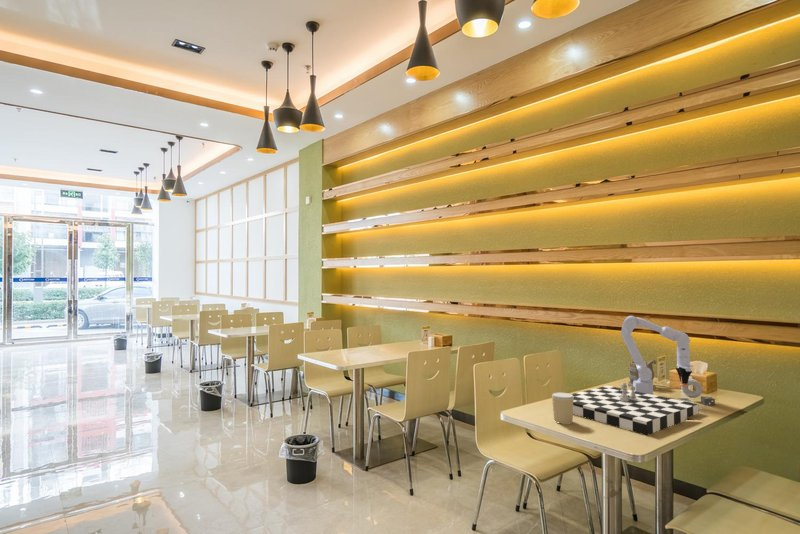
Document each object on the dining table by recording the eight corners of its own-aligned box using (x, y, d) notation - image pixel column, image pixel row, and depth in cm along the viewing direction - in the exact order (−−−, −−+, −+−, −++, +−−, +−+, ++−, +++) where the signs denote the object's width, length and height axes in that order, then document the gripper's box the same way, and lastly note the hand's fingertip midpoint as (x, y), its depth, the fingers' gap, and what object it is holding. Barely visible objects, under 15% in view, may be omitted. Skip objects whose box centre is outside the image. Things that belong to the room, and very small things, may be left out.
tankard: (640, 389, 260) (640, 363, 260) (623, 384, 272) (622, 359, 272) (666, 386, 266) (666, 361, 267) (648, 382, 278) (648, 357, 279)
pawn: (681, 386, 233) (681, 372, 233) (679, 385, 237) (678, 370, 237) (689, 387, 232) (689, 372, 232) (686, 385, 236) (686, 371, 236)
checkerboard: (646, 436, 185) (646, 400, 186) (555, 410, 223) (554, 380, 223) (698, 417, 210) (697, 385, 210) (608, 396, 248) (607, 369, 248)
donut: (703, 398, 240) (703, 379, 240) (701, 399, 238) (701, 380, 238) (682, 395, 248) (682, 376, 248) (680, 396, 245) (680, 377, 246)
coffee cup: (578, 422, 202) (578, 395, 202) (564, 426, 197) (564, 398, 197) (562, 417, 210) (561, 391, 210) (547, 420, 205) (547, 393, 205)
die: (704, 407, 223) (704, 398, 223) (700, 405, 228) (700, 396, 228) (715, 408, 222) (714, 399, 222) (711, 405, 227) (710, 396, 227)
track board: (689, 411, 218) (689, 408, 218) (674, 399, 238) (674, 397, 238) (706, 412, 216) (706, 409, 216) (689, 400, 236) (689, 398, 236)
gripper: (697, 359, 227) (698, 386, 227) (686, 354, 241) (687, 380, 241) (681, 358, 229) (682, 385, 228) (672, 354, 243) (672, 379, 242)
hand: (683, 382), depth 235 cm, fingers closed on pawn, 3 cm apart
